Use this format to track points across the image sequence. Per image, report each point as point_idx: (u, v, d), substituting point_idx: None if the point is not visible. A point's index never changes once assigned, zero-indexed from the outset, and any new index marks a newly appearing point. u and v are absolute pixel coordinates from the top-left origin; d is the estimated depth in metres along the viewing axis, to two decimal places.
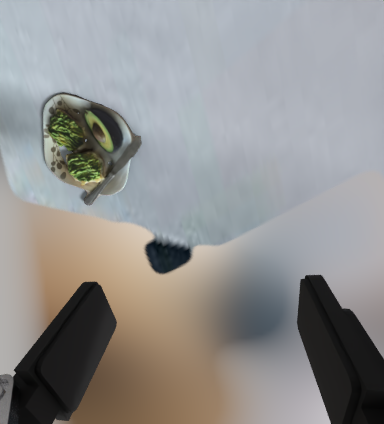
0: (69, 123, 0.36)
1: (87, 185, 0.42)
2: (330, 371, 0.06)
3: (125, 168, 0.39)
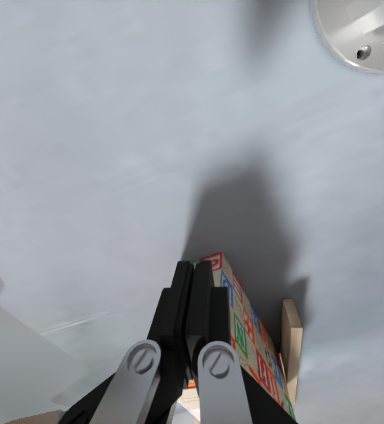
0: None
1: None
2: None
3: None
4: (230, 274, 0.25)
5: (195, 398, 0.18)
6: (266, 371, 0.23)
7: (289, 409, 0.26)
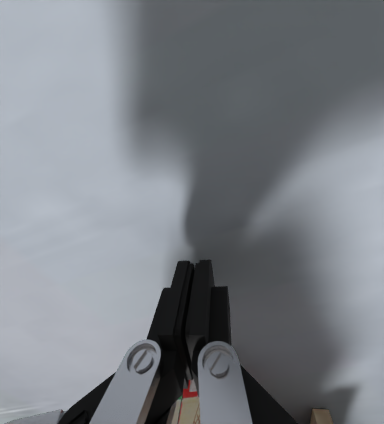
0: None
1: None
2: None
3: None
4: None
5: None
6: None
7: None
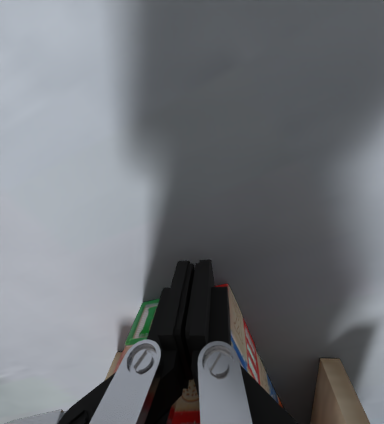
0: None
1: None
2: None
3: None
4: (242, 333, 0.12)
5: None
6: None
7: None
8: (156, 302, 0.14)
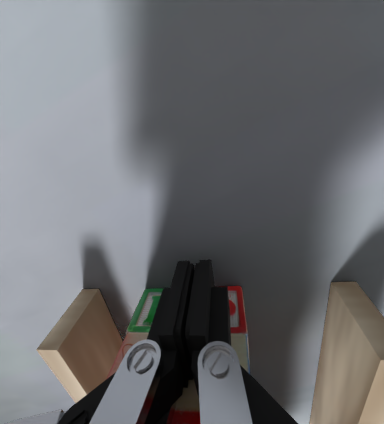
0: None
1: None
2: None
3: None
4: None
5: None
6: None
7: None
8: (161, 292, 0.13)
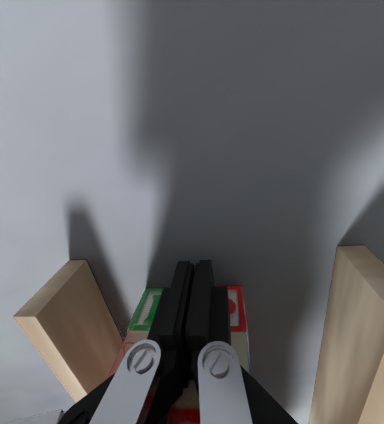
0: None
1: None
2: None
3: None
4: None
5: None
6: None
7: None
8: None
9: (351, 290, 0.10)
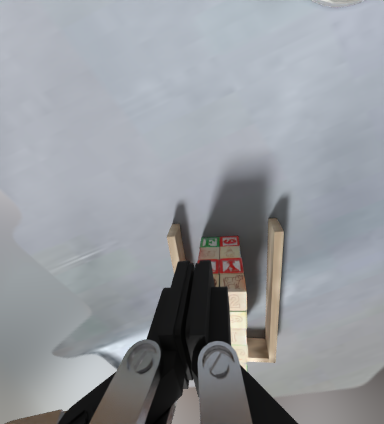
0: None
1: None
2: None
3: None
4: None
5: None
6: None
7: None
8: (208, 238, 0.35)
9: (270, 231, 0.32)
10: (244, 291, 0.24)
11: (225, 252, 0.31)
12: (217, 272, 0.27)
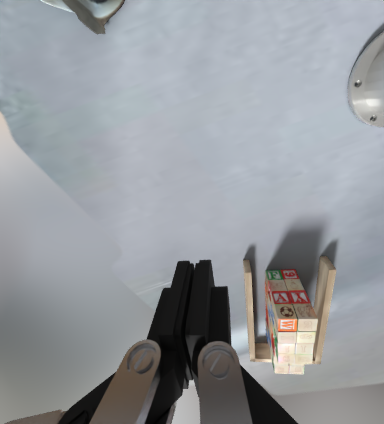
0: None
1: None
2: None
3: (60, 3, 0.29)
4: None
5: (289, 337, 0.37)
6: None
7: None
8: (271, 270, 0.46)
9: (323, 266, 0.42)
10: (316, 318, 0.34)
11: (290, 285, 0.41)
12: (290, 303, 0.38)
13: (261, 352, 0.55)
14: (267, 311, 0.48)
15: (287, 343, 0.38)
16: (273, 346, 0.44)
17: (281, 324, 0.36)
